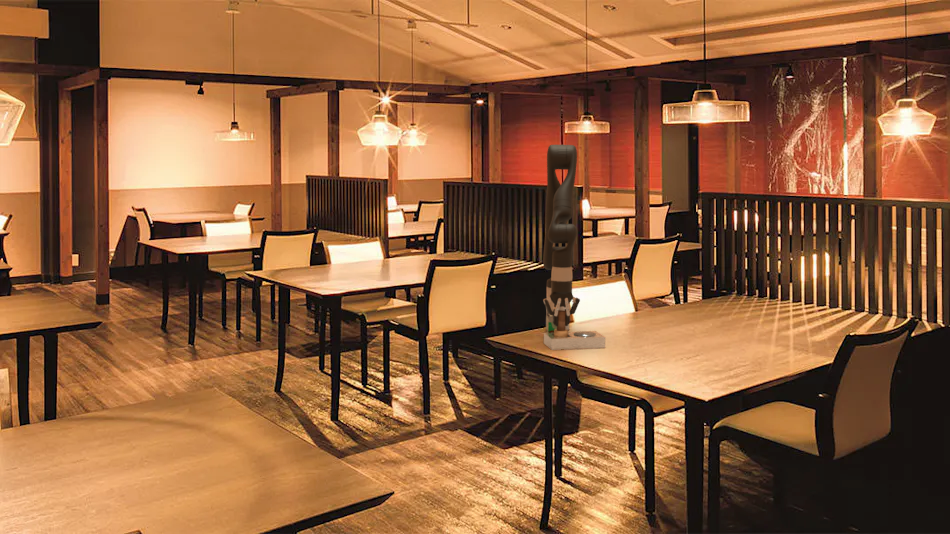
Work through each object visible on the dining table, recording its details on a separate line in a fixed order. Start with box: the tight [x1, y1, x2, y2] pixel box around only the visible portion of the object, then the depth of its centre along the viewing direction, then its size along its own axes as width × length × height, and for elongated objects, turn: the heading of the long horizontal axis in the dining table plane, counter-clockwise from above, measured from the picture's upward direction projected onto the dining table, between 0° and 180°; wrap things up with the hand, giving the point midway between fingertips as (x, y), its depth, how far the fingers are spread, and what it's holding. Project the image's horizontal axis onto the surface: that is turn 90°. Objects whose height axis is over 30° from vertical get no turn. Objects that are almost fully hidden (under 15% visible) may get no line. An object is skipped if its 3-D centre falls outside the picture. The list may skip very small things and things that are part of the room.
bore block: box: [543, 330, 606, 351], centre depth 315 cm, size 11×20×4 cm, turn 100°
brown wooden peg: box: [554, 310, 569, 337], centre depth 314 cm, size 5×5×10 cm
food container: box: [545, 312, 557, 333], centre depth 325 cm, size 12×6×10 cm, turn 179°
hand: (561, 325), depth 314 cm, fingers closed on brown wooden peg, 3 cm apart
